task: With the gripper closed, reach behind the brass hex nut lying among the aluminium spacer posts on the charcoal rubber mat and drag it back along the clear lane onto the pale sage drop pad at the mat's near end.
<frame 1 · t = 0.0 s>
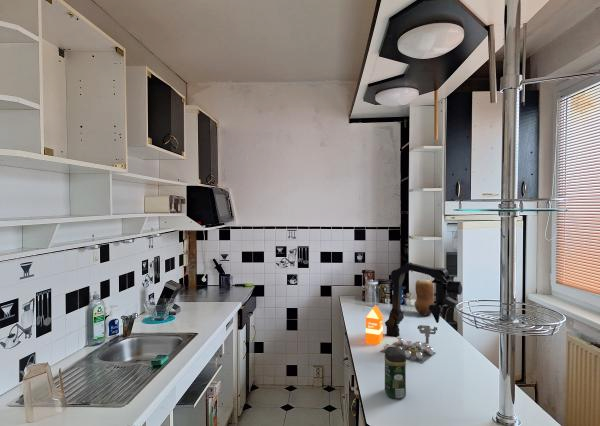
hand: (440, 320, 205), 15 cm above the worktop, fingers open, 9 cm apart
nut: (413, 353, 196), point 1 cm above the worktop, touching mat
coffee jar: (394, 394, 156), on the worktop
orange juice: (374, 342, 214), on the worktop
mat: (407, 353, 198), on the worktop
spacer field: (407, 353, 198), resting on mat
mechanical component: (427, 344, 210), on the worktop
butternut squash: (425, 315, 265), on the worktop
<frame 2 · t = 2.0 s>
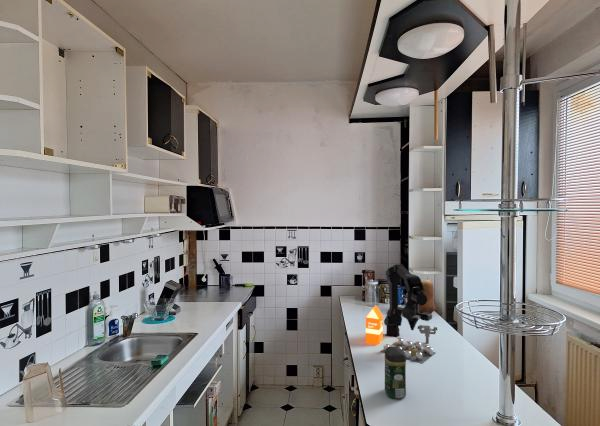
hand: (412, 330, 198), 12 cm above the worktop, fingers closed
nothing on the worktop moved.
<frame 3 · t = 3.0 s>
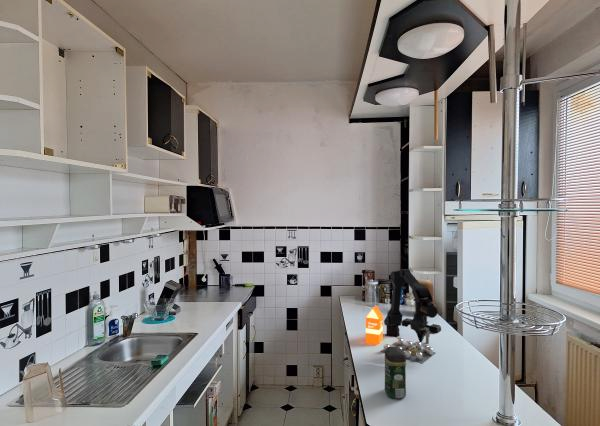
hand: (420, 342, 193), 7 cm above the worktop, fingers closed
nothing on the worktop moved.
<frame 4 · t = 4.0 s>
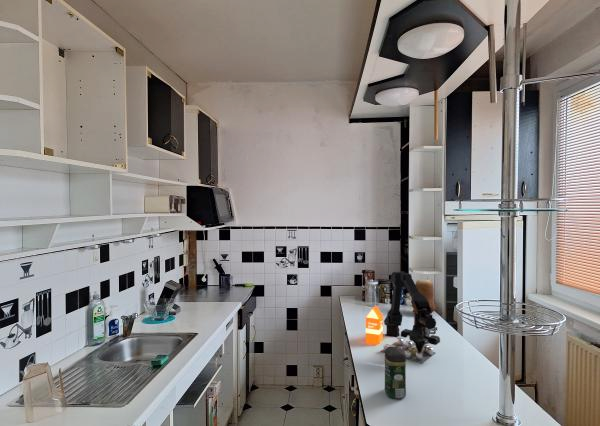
hand: (419, 353, 194), 2 cm above the worktop, fingers closed
nut: (413, 353, 196), point 1 cm above the worktop, touching gripper
everything else where it was.
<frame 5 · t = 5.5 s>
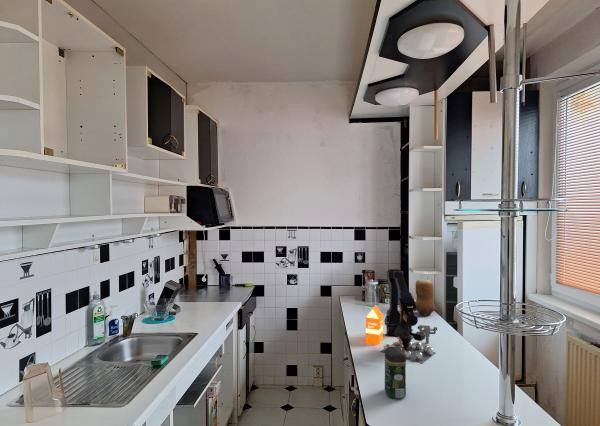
hand: (405, 349, 198), 2 cm above the worktop, fingers closed
nut: (399, 350, 200), point 1 cm above the worktop, touching gripper, mat
everything else where it was.
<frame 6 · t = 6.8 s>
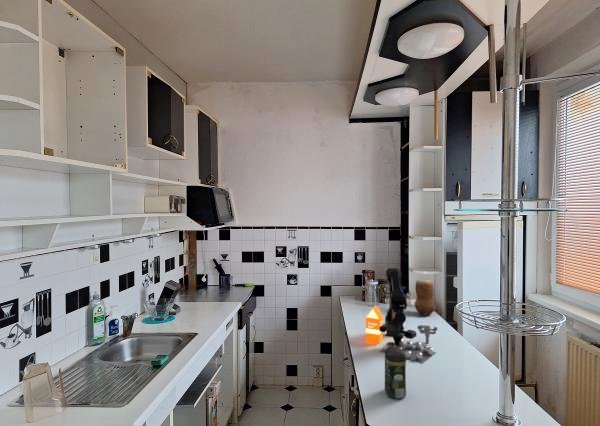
hand: (397, 347, 201), 2 cm above the worktop, fingers closed
nut: (391, 348, 203), point 1 cm above the worktop, touching gripper
everything else where it was.
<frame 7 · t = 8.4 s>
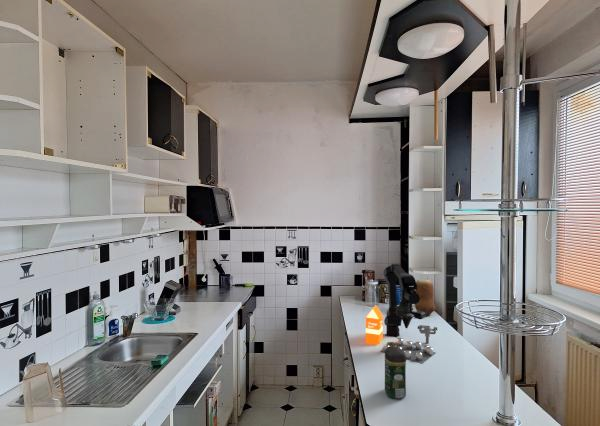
hand: (406, 328, 202), 12 cm above the worktop, fingers closed
nut: (391, 348, 203), point 1 cm above the worktop, touching mat
everything else where it was.
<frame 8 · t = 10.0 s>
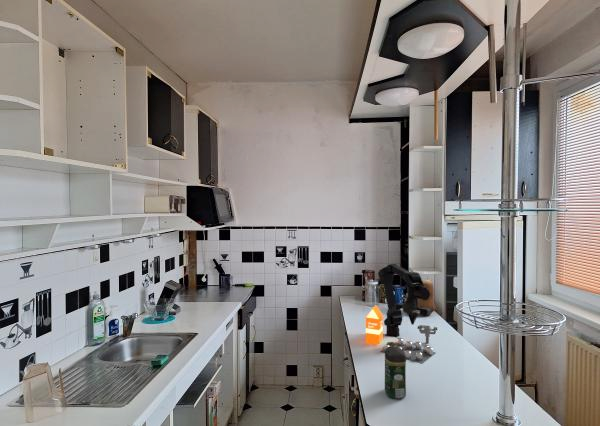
hand: (412, 324, 207), 12 cm above the worktop, fingers closed
nothing on the worktop moved.
at the end: nut inside the target area (1.0 cm from its centre), point 0.6 cm above the worktop; nut touching mat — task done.
